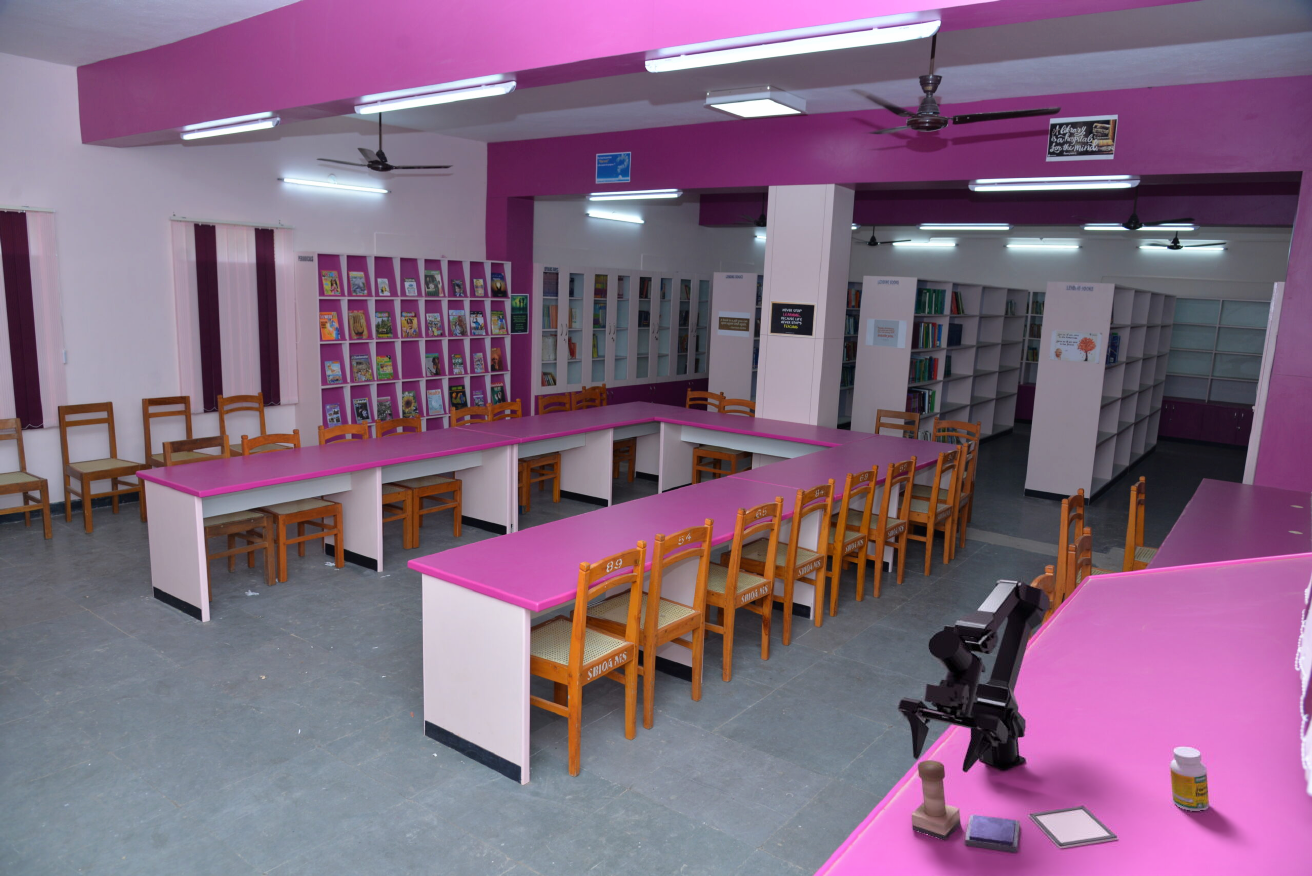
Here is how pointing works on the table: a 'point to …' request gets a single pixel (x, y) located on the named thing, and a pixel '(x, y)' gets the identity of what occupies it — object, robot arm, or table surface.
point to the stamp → (934, 804)
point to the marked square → (1072, 827)
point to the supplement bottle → (1189, 779)
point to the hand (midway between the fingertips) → (939, 764)
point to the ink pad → (993, 833)
